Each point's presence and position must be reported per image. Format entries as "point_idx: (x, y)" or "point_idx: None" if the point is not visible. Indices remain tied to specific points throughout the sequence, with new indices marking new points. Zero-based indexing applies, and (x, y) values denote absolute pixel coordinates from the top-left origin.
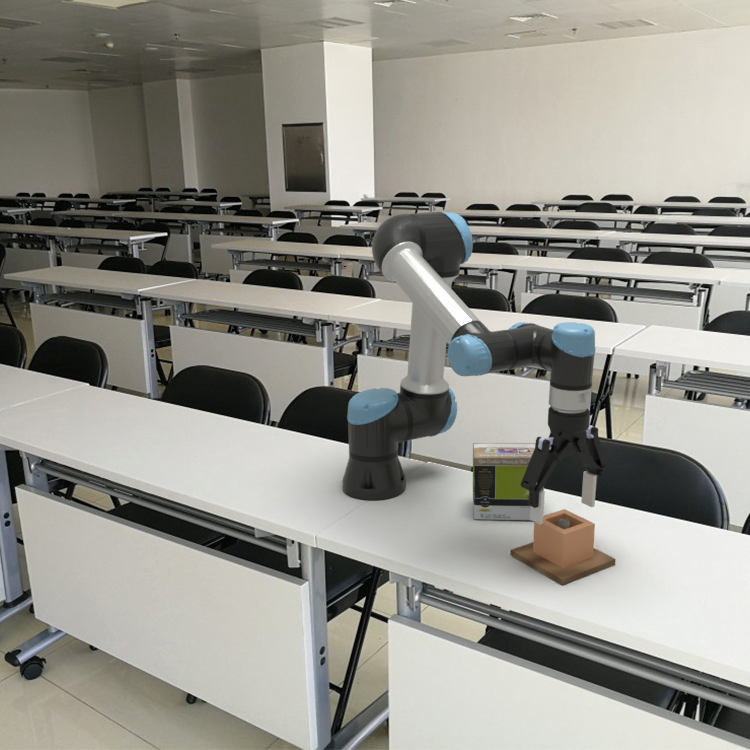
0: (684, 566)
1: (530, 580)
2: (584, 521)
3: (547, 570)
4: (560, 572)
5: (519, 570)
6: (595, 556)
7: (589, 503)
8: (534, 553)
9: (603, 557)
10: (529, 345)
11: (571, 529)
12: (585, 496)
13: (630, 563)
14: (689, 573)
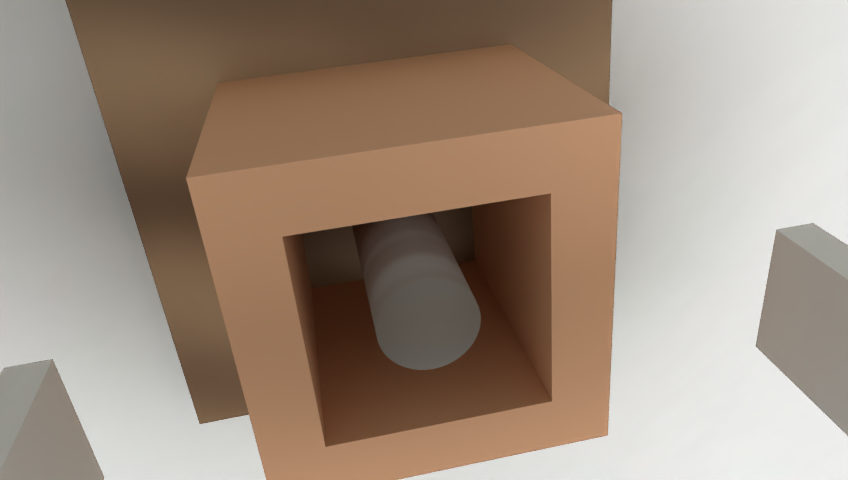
0: (806, 428)
1: (54, 304)
2: (571, 385)
3: (173, 323)
4: (235, 364)
5: (39, 182)
6: None
7: (778, 339)
8: None
9: None
10: None
11: (379, 460)
12: (829, 318)
13: (656, 339)
14: (768, 471)
